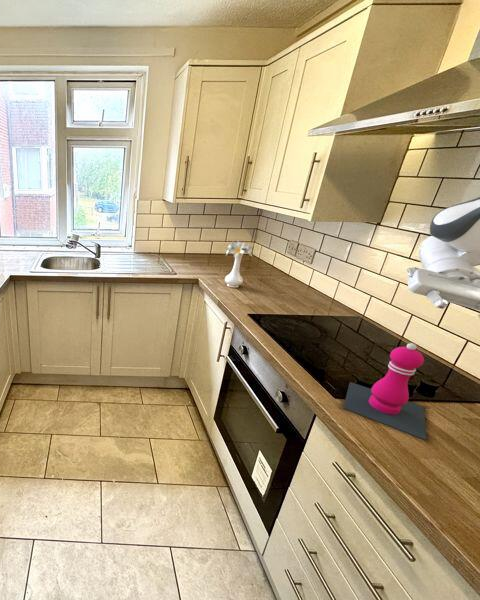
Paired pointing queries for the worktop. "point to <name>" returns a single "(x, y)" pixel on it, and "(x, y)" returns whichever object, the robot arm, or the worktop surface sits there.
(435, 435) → the worktop surface
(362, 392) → the mat
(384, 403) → the pepper mill
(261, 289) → the worktop surface
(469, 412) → the worktop surface
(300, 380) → the worktop surface
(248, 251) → the flower vase
